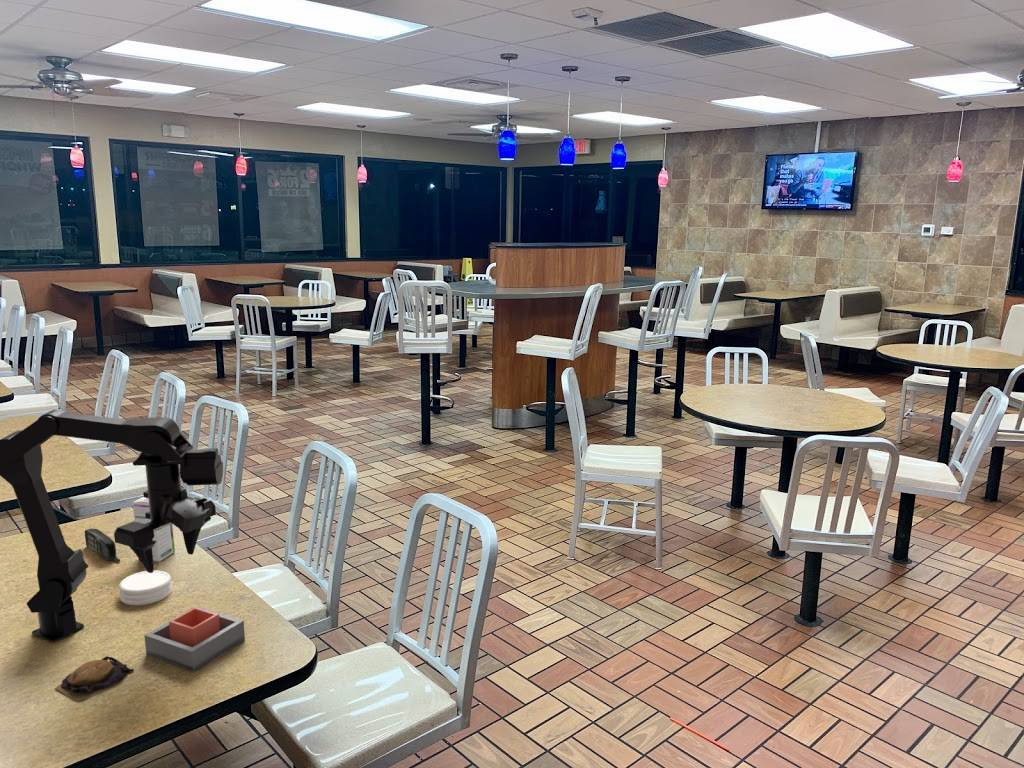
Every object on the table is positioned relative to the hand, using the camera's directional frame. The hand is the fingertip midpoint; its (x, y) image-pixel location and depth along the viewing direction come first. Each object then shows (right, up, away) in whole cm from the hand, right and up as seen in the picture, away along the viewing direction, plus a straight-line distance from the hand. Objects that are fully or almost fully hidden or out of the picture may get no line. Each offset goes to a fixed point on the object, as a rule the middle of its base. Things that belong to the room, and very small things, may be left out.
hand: (171, 563), depth 147 cm
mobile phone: (-31, -6, +34) cm, 47 cm away
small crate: (+7, -13, -5) cm, 16 cm away
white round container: (-12, -10, +15) cm, 22 cm away
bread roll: (-6, -17, -15) cm, 24 cm away
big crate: (+7, -14, -5) cm, 17 cm away
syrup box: (-18, -6, +33) cm, 38 cm away
